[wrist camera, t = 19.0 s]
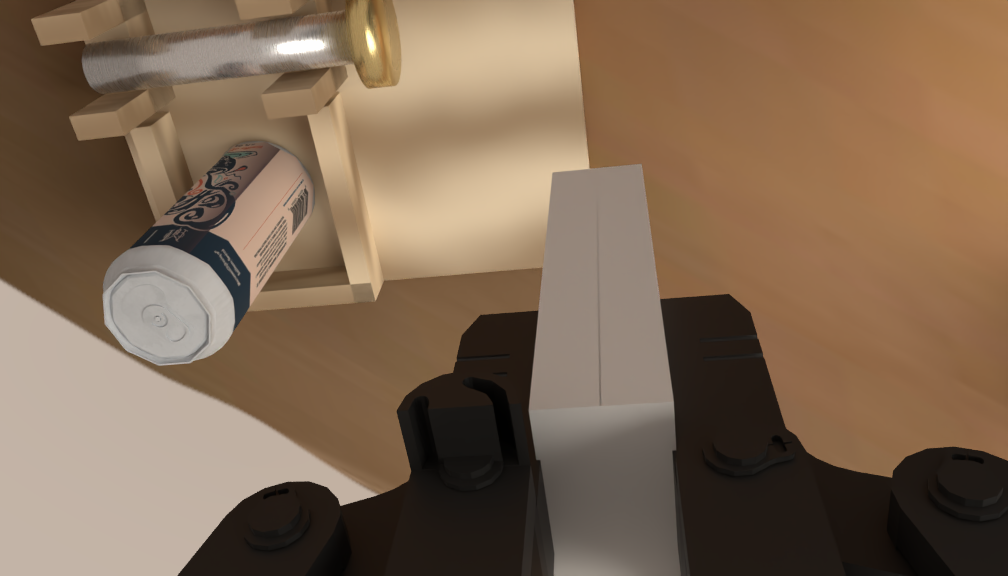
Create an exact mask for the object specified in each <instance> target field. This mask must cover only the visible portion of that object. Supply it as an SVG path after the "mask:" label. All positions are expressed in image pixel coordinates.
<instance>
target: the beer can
mask: <svg viewBox="0 0 1008 576" xmlns="http://www.w3.org/2000/svg"><path fill="white" fill-rule="evenodd" d="M314 205H315V189H314V184H313V181H312V178H311V176H310V174H309V172H308V170H307V169H306V167H305V166H304V165H303V163H302V162H301V161H300V160H299V159H298V158H297V157H296V156H295V155H293V154H292V153H291V152H289V151H288V150H286V149H285V148H283V147H281V146H279V145H276V144H273V143H270V142H265V141H246V142H242V143H240V144H237V145H234V146H233V147H231V148H230V149H229V150H228V151H226V152H225V153H224V154H223V156H222V157H221V158H220V160H219V161H218V162H217V163H216V164H215V165H214V166H213V167H212V168H211V169H210V170H209V171H208V172H207V173H206V174H205V175H204V176H203V177H202V178H201V179H200V180H199V181H198V182H197V183H196V184H195V185H194V186H193V187H192V188H191V189H190V190H189V191H188V192H187V193H186V194H185V195H183V196H182V197H181V198H180V199H179V200H178V201H177V202H176V203H175V204H174V205H173V206H172V207H171V208H170V209H169V210H168V211H167V212H166V213H165V214H164V215H163V216H162V217H161V218H160V219H159V220H158V221H157V222H156V223H155V224H154V225H153V226H152V227H151V228H150V229H149V230H148V231H147V232H146V233H145V234H144V235H143V236H142V237H141V238H140V239H139V240H138V241H137V242H136V243H135V244H134V245H133V246H132V247H131V248H130V249H128V250H127V251H125V252H124V253H123V254H122V255H120V256H119V257H118V258H117V259H116V260H114V261H113V263H112V264H111V266H110V267H109V268H108V270H107V272H106V275H105V278H104V282H103V291H104V294H103V307H104V319H105V325H106V326H107V327H108V329H109V330H110V331H111V332H112V334H113V335H114V336H115V337H116V339H117V340H118V341H119V342H120V343H121V345H122V346H123V347H124V348H125V350H126V351H128V352H130V353H132V354H135V355H137V356H139V357H141V358H143V359H146V360H148V361H150V362H152V363H154V364H157V365H172V364H185V363H191V362H192V361H195V360H198V359H202V358H206V357H208V356H210V355H212V354H214V353H215V352H216V351H218V350H219V349H221V348H222V347H223V346H224V344H225V343H226V342H227V341H228V340H229V338H230V336H231V335H232V333H233V331H234V330H235V328H236V327H237V325H238V324H239V322H240V321H241V319H242V318H243V316H244V315H245V313H246V312H247V310H248V309H249V307H250V306H251V304H252V303H253V301H254V300H255V298H256V297H257V295H258V294H259V292H260V291H261V289H262V288H263V286H264V285H265V283H266V282H267V280H268V279H269V277H270V276H271V274H272V273H273V271H274V270H275V268H276V267H277V265H278V264H279V262H280V261H281V259H282V258H283V256H284V255H285V253H286V252H287V250H288V249H289V247H290V246H291V244H292V243H293V241H294V240H295V238H296V237H297V235H298V234H299V232H300V231H301V229H302V228H303V226H304V225H305V223H306V222H307V220H308V219H309V218H310V216H311V214H312V212H313V209H314Z"/></svg>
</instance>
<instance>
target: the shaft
mask: <svg viewBox="0 0 1008 576" xmlns="http://www.w3.org/2000/svg"><path fill="white" fill-rule="evenodd" d="M349 64H354V65H355V68H356V71H357V73H358V76H359V78H360V80H361V82H362V83H363V85H364V86H365V87H366V88H368V89H373V88H382V87H391V86H396V85H397V84H398V82H399V79H400V75H401V43H400V34H399V28H398V22H397V17H396V12H395V8H394V5H393V1H392V0H345V10H343V11H335V12H327V13H319V14H312V15H304V16H296V17H288V18H280V19H273V20H265V21H257V22H249V23H241V24H234V25H226V26H218V27H210V28H202V29H195V30H187V31H179V32H171V33H164V34H156V35H148V36H140V37H132V38H125V39H117V40H109V41H101V42H93V43H88V44H87V45H86V46H85V47H84V50H83V53H82V66H83V71H84V74H85V77H86V79H87V81H88V83H89V84H90V86H91V87H92V88H93V89H94V90H95V91H96V92H98V93H100V94H106V93H115V92H123V91H131V90H140V89H148V88H157V87H165V86H173V85H182V84H190V83H198V82H207V81H215V80H224V79H232V78H240V77H249V76H257V75H265V74H274V73H282V72H291V71H299V70H307V69H316V68H324V67H332V66H341V65H349Z"/></svg>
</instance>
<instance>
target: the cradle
mask: <svg viewBox="0 0 1008 576" xmlns="http://www.w3.org/2000/svg"><path fill="white" fill-rule="evenodd" d="M392 1H393V5H394V8H395V12H396V17H397V22H398V28H399V34H400V43H401V75H400V79H399V82H398V84H397V85H396V86H391V87H382V88H373V89H368V88H366V87H365V86H364V85H363V83H362V82H361V80H360V78H359V76H358V73H357V71H356V68H355V65H354V64H349V65H341V66H332V67H324V68H316V69H307V70H299V71H291V72H282V73H274V74H265V75H257V76H249V77H240V78H232V79H224V80H215V81H207V82H198V83H190V84H182V85H173V86H165V87H157V88H148V89H140V90H131V91H123V92H115V93H106V94H104V95H103V96H101V97H100V98H98V99H96V100H95V101H93V102H92V103H90V104H88V105H87V106H85V107H84V108H82V109H80V110H79V111H77V112H76V113H74V114H72V115H71V116H69V118H70V121H71V123H72V126H73V129H74V131H75V134H76V136H77V139H78V141H80V140H89V139H98V138H107V137H116V136H125V138H126V140H127V143H128V146H129V149H130V152H131V154H132V157H133V160H134V163H135V165H136V168H137V171H138V174H139V176H140V179H141V182H142V185H143V187H144V190H145V193H146V196H147V198H148V201H149V204H150V207H151V209H152V212H153V215H154V218H155V220H156V222H157V221H158V220H159V219H160V218H161V217H162V216H163V215H164V214H165V213H166V212H167V211H168V210H169V209H170V208H171V207H172V206H173V205H174V204H175V203H176V202H177V201H178V200H179V199H180V198H181V197H182V196H183V195H185V194H186V193H187V192H188V191H189V190H190V189H191V188H192V187H193V186H194V185H195V184H196V183H197V182H198V181H199V180H200V179H201V178H202V177H203V176H204V175H205V174H206V173H207V172H208V171H209V170H210V169H211V168H212V167H213V166H214V165H215V164H216V163H217V162H218V161H219V160H220V158H221V157H222V156H223V154H224V153H225V152H226V151H228V150H229V149H230V148H231V147H233V146H234V145H237V144H240V143H242V142H246V141H265V142H270V143H273V144H276V145H279V146H281V147H283V148H285V149H286V150H288V151H289V152H291V153H292V154H293V155H295V156H296V157H297V158H298V159H299V160H300V161H301V162H302V163H303V165H304V166H305V167H306V169H307V170H308V172H309V174H310V176H311V178H312V181H313V184H314V189H315V205H314V209H313V212H312V214H311V216H310V218H309V219H308V220H307V222H306V223H305V225H304V226H303V228H302V229H301V231H300V232H299V234H298V235H297V237H296V238H295V240H294V241H293V243H292V244H291V246H290V247H289V249H288V250H287V252H286V253H285V255H284V256H283V258H282V259H281V261H280V262H279V264H278V265H277V267H276V268H275V270H274V271H273V273H272V274H271V276H270V277H269V279H268V280H267V282H266V283H265V285H264V286H263V288H262V289H261V291H260V292H259V294H258V295H257V297H256V298H255V300H254V301H253V303H252V304H251V306H250V307H249V309H248V310H247V312H248V311H260V310H273V309H285V308H298V307H310V306H322V305H335V304H347V303H360V302H372V301H376V299H377V296H378V294H379V291H380V289H381V286H382V284H383V282H384V281H386V280H398V279H410V278H422V277H434V276H446V275H457V274H469V273H481V272H493V271H505V270H517V269H529V268H541V267H543V262H544V252H545V242H546V232H547V222H548V212H549V202H550V192H551V183H552V173H553V172H562V171H573V170H583V169H590V167H589V157H588V146H587V136H586V126H585V115H584V105H583V94H582V84H581V74H580V63H579V53H578V42H577V32H576V22H575V11H574V1H573V0H392ZM343 10H345V0H76V1H74V2H72V3H69V4H67V5H64V6H62V7H59V8H57V9H54V10H52V11H50V12H47V13H45V14H42V15H40V16H37V17H35V18H32V19H31V21H32V23H33V26H34V29H35V31H36V34H37V36H38V39H39V41H40V44H41V46H44V45H52V44H60V43H67V42H75V41H83V40H84V42H85V44H86V45H87V44H88V43H93V42H101V41H109V40H117V39H125V38H132V37H140V36H148V35H156V34H164V33H171V32H179V31H187V30H195V29H202V28H210V27H218V26H226V25H234V24H241V23H249V22H257V21H265V20H273V19H280V18H288V17H296V16H304V15H312V14H319V13H327V12H335V11H343Z"/></svg>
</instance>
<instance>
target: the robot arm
mask: <svg viewBox="0 0 1008 576" xmlns="http://www.w3.org/2000/svg"><path fill="white" fill-rule="evenodd" d="M397 415H398V419H399V423H400V427H401V431H402V435H403V439H404V443H405V447H406V451H407V455H408V459H409V463H410V468H411V474H410V478H409V481H407V482H406V483H404V484H402V485H400V486H399V487H397V488H395V489H393V490H391V491H388V492H385V493H383V494H380V495H377V496H374V497H371V498H367V499H364V500H360V501H357V502H353V503H350V504H346V505H343V506H340V504H339V501H338V498H337V497H336V496H335V495H334V494H333V493H332V492H331V491H330V490H329V489H328V488H327V487H324V486H321V485H318V484H315V483H312V482H286V483H282V484H278V485H275V486H271V487H268V488H264V489H262V490H261V491H259V492H257V493H255V494H253V495H251V496H250V497H248V498H246V499H244V500H242V501H241V502H240V503H239V504H238V505H237V506H236V507H235V508H234V509H233V510H232V511H231V512H229V514H227V515H226V516H225V518H224V519H223V520H222V521H221V522H220V524H219V525H218V526H217V528H216V529H215V530H214V531H213V532H212V534H211V535H210V536H209V537H208V539H207V540H206V541H205V542H204V543H203V545H202V546H201V547H200V548H199V550H198V551H197V552H196V553H195V555H194V556H193V557H192V558H191V560H190V561H189V562H188V563H187V565H186V566H185V567H184V568H183V569H182V571H181V572H180V573H179V574H178V576H1008V461H1007V460H1004V459H1002V458H999V457H997V456H994V455H991V454H989V453H986V452H984V451H978V450H972V449H965V448H959V447H944V448H930V449H925V450H923V451H920V452H918V453H915V454H912V455H910V456H907V457H905V459H904V460H903V461H902V462H901V463H900V464H899V465H898V466H897V467H896V468H895V469H894V470H893V476H892V478H890V477H884V476H879V475H873V474H867V473H861V472H856V471H852V470H848V469H844V468H840V467H836V466H833V465H831V464H828V463H826V462H824V461H821V460H819V459H817V458H815V457H814V456H812V455H811V454H809V453H807V452H806V450H805V449H804V447H803V446H802V444H801V442H800V441H799V439H798V438H797V436H796V435H795V434H793V433H792V432H790V431H789V430H787V429H786V427H785V424H784V421H783V418H782V415H781V411H780V408H779V405H778V402H777V398H776V395H775V392H774V388H773V385H772V382H771V379H770V375H769V372H768V369H767V365H766V362H765V359H764V358H763V352H762V349H761V346H760V343H759V339H757V333H756V329H755V326H754V323H753V320H752V316H751V313H750V312H749V311H748V310H747V309H746V308H745V307H744V306H742V305H741V304H740V303H739V302H738V301H737V300H735V299H734V298H733V297H732V296H731V295H730V294H724V295H710V296H697V297H683V298H670V299H660V296H659V289H658V282H657V274H656V267H655V259H654V252H653V245H652V237H651V230H650V223H649V215H648V208H647V200H646V193H645V186H644V178H643V171H642V164H635V165H625V166H614V167H604V168H594V169H583V170H573V171H562V172H553V173H552V183H551V192H550V202H549V212H548V222H547V232H546V242H545V252H544V262H543V272H542V282H541V292H540V302H539V311H528V312H515V313H501V314H488V315H480V316H479V317H478V318H477V319H476V321H475V322H474V323H473V324H472V325H471V326H470V327H469V328H468V329H467V330H466V331H465V333H464V334H463V335H462V337H461V341H460V346H459V350H458V354H457V362H456V363H455V367H454V371H453V373H450V374H444V375H441V376H439V377H436V378H434V379H432V380H429V381H427V382H425V383H422V384H421V385H419V386H418V387H417V388H416V389H414V390H413V391H412V392H410V393H409V394H408V395H406V396H405V398H404V400H403V401H402V403H401V405H400V406H399V408H398V409H397Z"/></svg>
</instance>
